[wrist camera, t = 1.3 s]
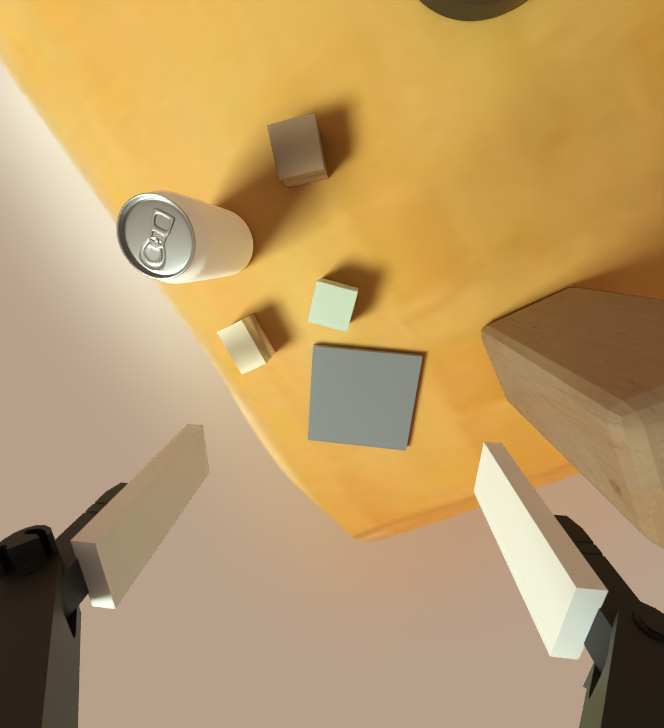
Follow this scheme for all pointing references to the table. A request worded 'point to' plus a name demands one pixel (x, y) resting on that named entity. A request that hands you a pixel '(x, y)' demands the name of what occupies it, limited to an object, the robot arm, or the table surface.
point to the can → (182, 238)
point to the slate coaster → (362, 396)
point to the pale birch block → (247, 343)
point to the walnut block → (298, 150)
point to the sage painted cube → (332, 304)
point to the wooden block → (593, 390)
